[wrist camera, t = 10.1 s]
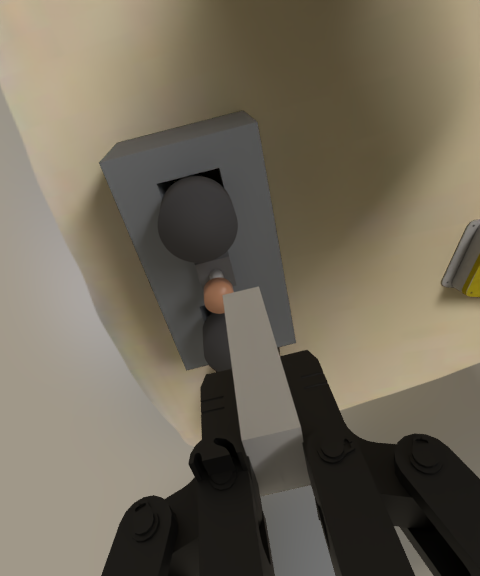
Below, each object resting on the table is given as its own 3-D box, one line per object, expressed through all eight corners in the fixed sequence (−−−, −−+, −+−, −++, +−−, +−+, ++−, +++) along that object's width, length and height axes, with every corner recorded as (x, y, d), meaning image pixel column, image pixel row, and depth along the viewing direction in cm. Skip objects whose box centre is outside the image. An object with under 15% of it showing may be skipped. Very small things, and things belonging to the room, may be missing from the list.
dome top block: (194, 258, 32) (195, 290, 27) (227, 250, 31) (234, 280, 27) (203, 286, 33) (206, 320, 29) (235, 278, 33) (242, 311, 29)
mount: (117, 143, 33) (99, 162, 26) (243, 110, 33) (257, 121, 26) (186, 324, 45) (186, 370, 38) (279, 301, 45) (296, 342, 38)
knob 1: (157, 163, 33) (145, 199, 24) (216, 147, 33) (227, 178, 24) (176, 219, 36) (172, 270, 27) (230, 205, 36) (245, 252, 27)
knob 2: (194, 273, 39) (196, 334, 30) (244, 261, 39) (260, 318, 30) (207, 313, 42) (212, 380, 33) (253, 302, 42) (271, 365, 33)
